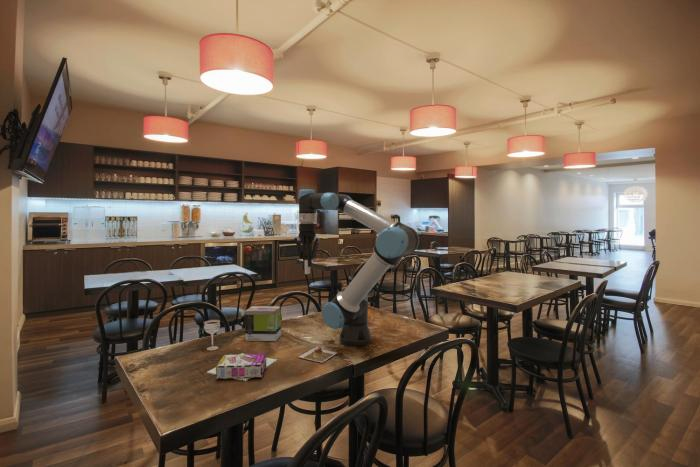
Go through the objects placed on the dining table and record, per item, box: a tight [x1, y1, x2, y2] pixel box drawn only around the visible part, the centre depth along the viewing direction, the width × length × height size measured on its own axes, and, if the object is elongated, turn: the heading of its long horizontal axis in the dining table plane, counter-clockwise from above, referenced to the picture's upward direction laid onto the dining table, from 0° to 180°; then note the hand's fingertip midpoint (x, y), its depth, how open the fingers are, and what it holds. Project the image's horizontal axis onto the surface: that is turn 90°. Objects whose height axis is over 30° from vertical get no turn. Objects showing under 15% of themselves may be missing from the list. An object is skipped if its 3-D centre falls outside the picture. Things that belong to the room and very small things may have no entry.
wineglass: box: [203, 319, 221, 351], centre depth 161 cm, size 7×7×12 cm
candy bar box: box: [215, 353, 267, 380], centre depth 135 cm, size 11×5×16 cm
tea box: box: [244, 305, 282, 342], centre depth 174 cm, size 15×10×15 cm
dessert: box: [298, 345, 338, 364], centre depth 152 cm, size 12×12×5 cm
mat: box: [206, 352, 278, 382], centre depth 141 cm, size 18×20×1 cm
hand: (307, 273), depth 167 cm, fingers closed
